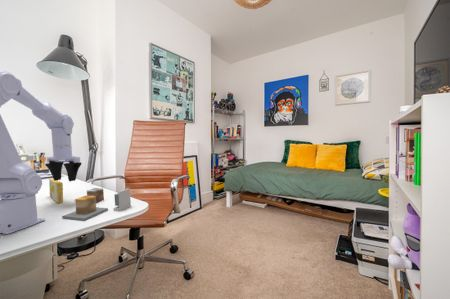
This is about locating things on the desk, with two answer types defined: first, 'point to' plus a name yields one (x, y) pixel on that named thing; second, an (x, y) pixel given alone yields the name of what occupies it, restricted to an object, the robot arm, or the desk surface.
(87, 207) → the tan small block
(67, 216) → the parts mat
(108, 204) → the desk surface
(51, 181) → the candy box
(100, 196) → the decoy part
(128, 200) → the wall unit
